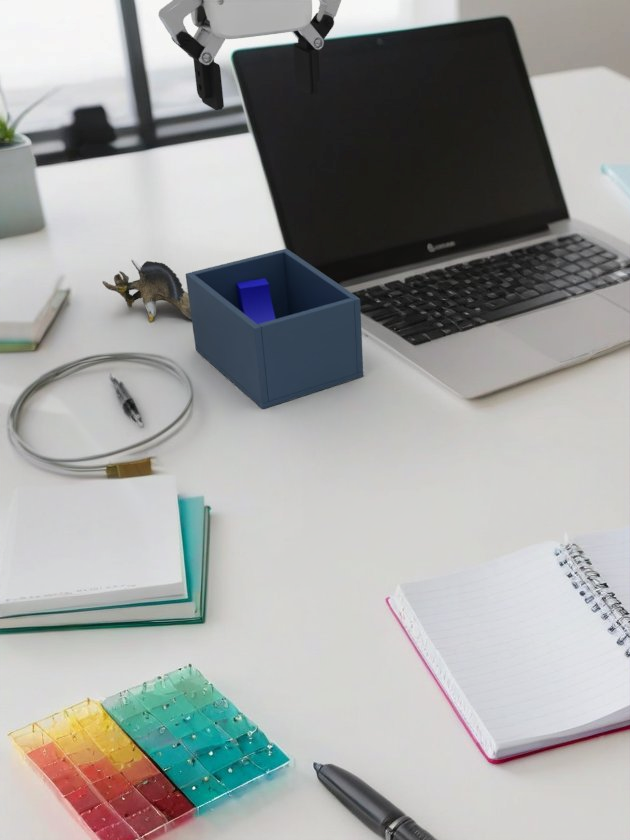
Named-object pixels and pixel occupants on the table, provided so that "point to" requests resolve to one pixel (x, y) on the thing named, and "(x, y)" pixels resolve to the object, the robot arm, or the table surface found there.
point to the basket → (277, 328)
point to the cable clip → (255, 300)
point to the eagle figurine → (152, 288)
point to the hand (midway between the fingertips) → (260, 98)
